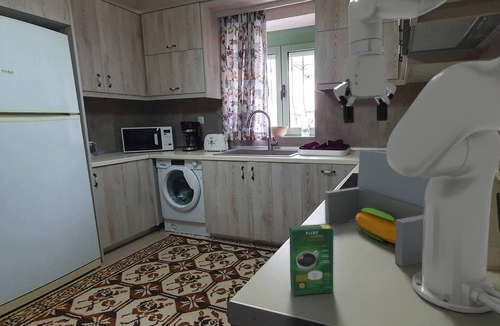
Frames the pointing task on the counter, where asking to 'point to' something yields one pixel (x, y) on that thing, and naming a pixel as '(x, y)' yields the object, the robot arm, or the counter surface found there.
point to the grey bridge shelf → (405, 214)
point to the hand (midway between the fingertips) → (365, 121)
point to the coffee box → (311, 259)
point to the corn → (376, 224)
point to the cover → (388, 179)
